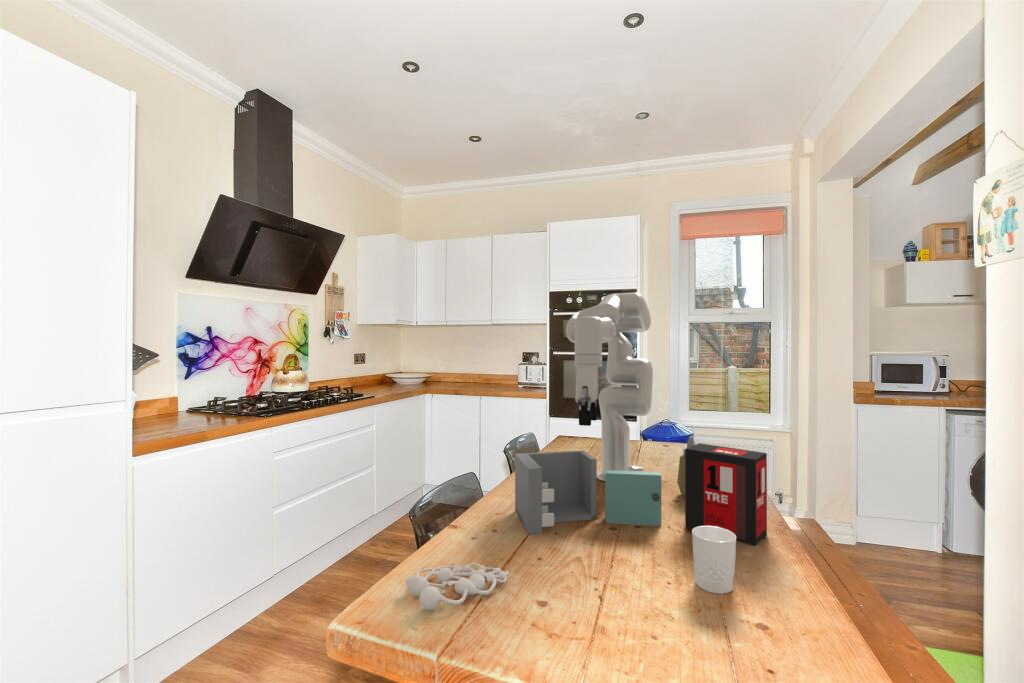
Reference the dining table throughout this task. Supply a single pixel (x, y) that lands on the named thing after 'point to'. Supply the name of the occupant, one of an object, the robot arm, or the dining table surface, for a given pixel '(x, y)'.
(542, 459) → the cabinet
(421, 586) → the tangled rod sculpture
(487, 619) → the dining table surface
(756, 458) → the cleaning product box
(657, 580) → the dining table surface
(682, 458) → the squeeze bottle
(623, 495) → the cabinet door
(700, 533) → the white cup
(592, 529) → the dining table surface
